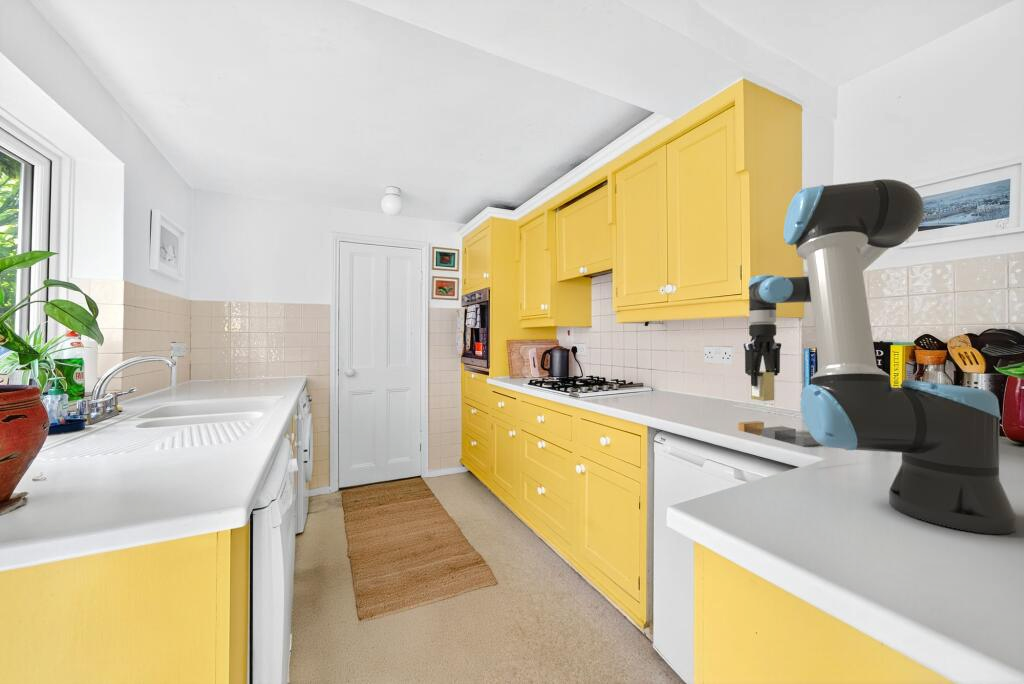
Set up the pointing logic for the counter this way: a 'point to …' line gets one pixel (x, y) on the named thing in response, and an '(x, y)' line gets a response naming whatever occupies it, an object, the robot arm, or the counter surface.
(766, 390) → the brass block
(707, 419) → the counter surface
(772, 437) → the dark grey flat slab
